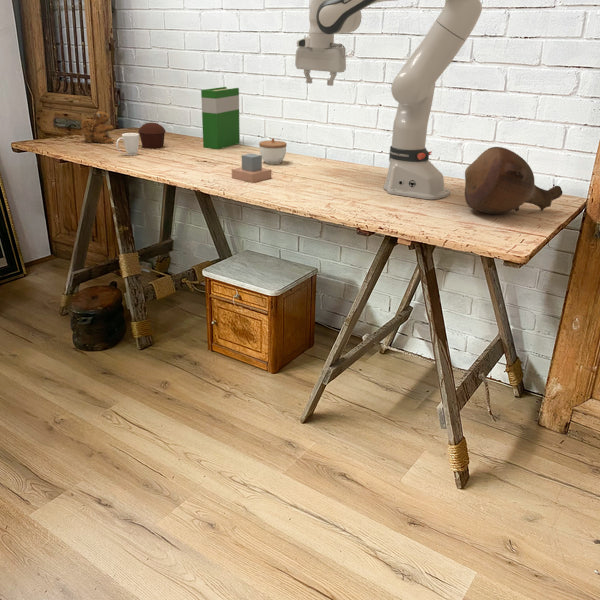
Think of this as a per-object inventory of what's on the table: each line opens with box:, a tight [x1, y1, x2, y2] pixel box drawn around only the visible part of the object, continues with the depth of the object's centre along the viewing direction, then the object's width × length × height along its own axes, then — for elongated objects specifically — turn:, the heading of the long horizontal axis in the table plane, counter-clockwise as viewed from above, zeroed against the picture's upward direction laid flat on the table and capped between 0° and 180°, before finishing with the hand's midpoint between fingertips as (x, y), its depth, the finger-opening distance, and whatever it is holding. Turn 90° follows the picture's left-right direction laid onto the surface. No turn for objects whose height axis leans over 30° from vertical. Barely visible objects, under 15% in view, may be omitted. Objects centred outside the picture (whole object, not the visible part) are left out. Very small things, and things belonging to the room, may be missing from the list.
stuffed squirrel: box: [80, 110, 115, 144], centre depth 275 cm, size 10×14×13 cm
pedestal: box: [231, 166, 272, 184], centre depth 221 cm, size 10×10×3 cm
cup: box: [115, 132, 140, 156], centre depth 252 cm, size 7×10×8 cm
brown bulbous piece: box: [464, 146, 563, 215], centre depth 185 cm, size 20×20×30 cm
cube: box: [241, 152, 263, 172], centre depth 220 cm, size 5×5×5 cm
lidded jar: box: [258, 137, 287, 165], centre depth 245 cm, size 11×11×9 cm
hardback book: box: [200, 86, 241, 150], centre depth 272 cm, size 18×7×24 cm, turn 152°
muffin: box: [137, 122, 167, 150], centre depth 268 cm, size 12×11×10 cm
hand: (319, 84), depth 221 cm, fingers open, 8 cm apart
